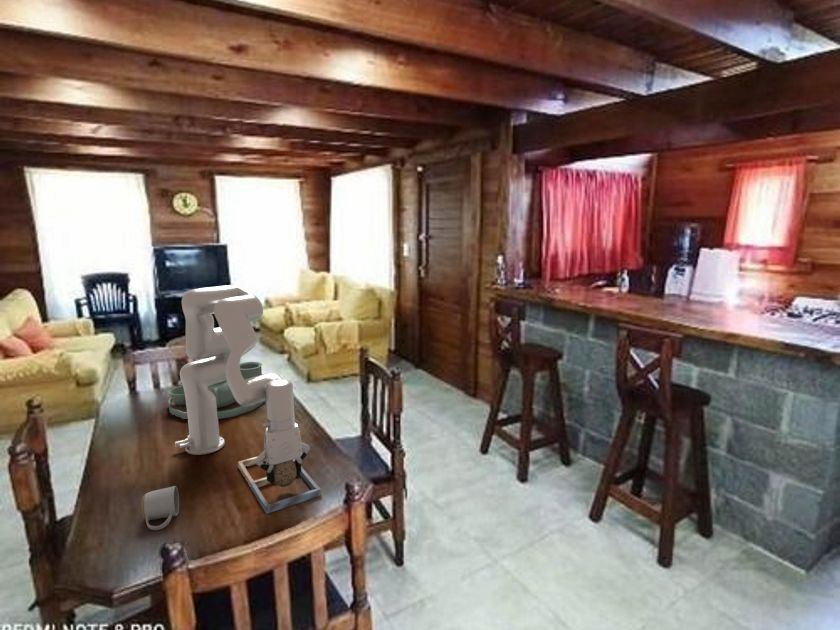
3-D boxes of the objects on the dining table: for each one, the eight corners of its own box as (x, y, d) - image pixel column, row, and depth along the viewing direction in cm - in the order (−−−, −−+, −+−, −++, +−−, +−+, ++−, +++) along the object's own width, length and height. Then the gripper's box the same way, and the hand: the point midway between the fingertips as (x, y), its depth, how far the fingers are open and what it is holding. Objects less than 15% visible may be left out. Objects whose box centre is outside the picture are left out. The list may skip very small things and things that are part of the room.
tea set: (244, 381, 237) (241, 349, 234) (282, 404, 209) (280, 368, 205) (156, 401, 211) (151, 366, 207) (186, 431, 182) (182, 390, 179)
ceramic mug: (147, 510, 133) (144, 486, 131) (180, 505, 135) (177, 480, 134) (140, 535, 123) (136, 508, 121) (175, 528, 126) (172, 502, 124)
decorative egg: (282, 476, 146) (281, 446, 144) (302, 481, 144) (300, 451, 142) (267, 488, 140) (265, 457, 138) (287, 494, 137) (285, 462, 135)
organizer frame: (266, 514, 132) (265, 507, 131) (238, 467, 156) (237, 461, 155) (321, 495, 140) (320, 489, 140) (286, 454, 165) (286, 448, 164)
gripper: (254, 434, 130) (258, 493, 134) (315, 419, 140) (317, 475, 143) (246, 424, 136) (250, 481, 140) (305, 411, 146) (307, 464, 149)
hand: (284, 478), depth 141 cm, fingers closed on decorative egg, 7 cm apart
